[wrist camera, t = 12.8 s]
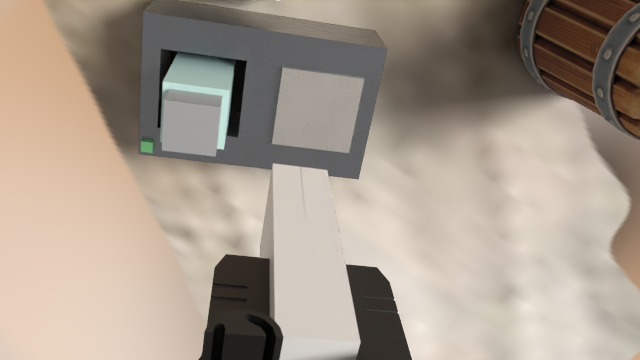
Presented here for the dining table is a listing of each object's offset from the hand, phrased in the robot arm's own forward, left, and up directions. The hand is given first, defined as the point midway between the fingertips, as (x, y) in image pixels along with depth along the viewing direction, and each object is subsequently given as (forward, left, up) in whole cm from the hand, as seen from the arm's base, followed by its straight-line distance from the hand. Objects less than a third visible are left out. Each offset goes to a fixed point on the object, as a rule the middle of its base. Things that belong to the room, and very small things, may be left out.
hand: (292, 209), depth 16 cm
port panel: (+6, -1, -29) cm, 30 cm away
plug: (+6, -5, -29) cm, 30 cm away
